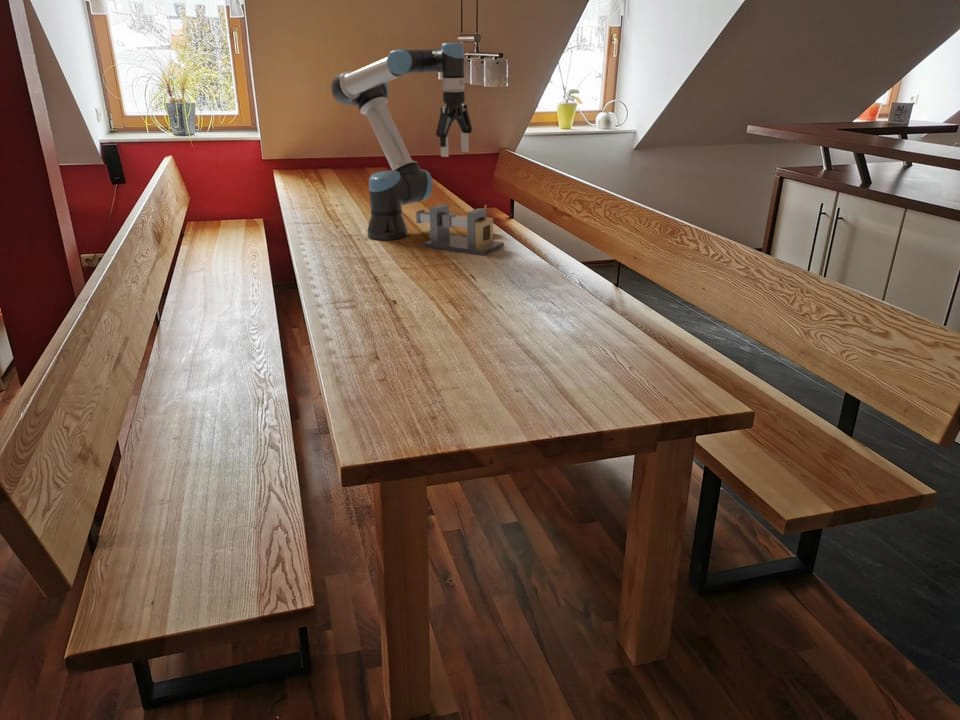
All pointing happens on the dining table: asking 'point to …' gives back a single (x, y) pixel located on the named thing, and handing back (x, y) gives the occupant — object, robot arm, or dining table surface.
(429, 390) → the dining table surface
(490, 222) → the block
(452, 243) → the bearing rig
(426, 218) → the shaft
